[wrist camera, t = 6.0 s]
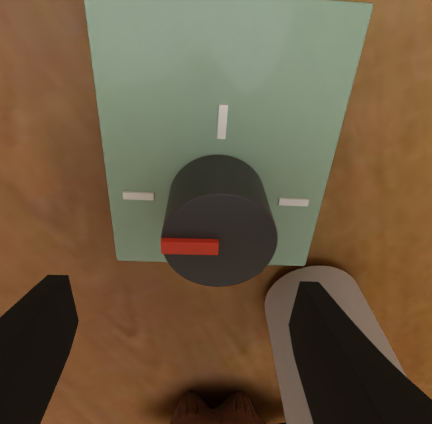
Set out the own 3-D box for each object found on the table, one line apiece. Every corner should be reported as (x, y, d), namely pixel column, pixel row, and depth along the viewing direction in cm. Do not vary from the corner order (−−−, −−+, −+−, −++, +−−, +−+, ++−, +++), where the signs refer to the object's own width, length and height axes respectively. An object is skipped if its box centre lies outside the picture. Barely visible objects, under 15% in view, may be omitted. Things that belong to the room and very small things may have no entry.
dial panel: (291, 237, 21) (304, 272, 18) (128, 232, 20) (116, 267, 17) (344, 3, 14) (377, 3, 11) (104, -14, 14) (79, -19, 11)
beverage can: (374, 283, 23) (510, 508, 13) (310, 334, 25) (379, 554, 15) (305, 242, 21) (401, 471, 11) (243, 303, 23) (272, 531, 13)
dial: (270, 155, 14) (288, 199, 11) (258, 237, 17) (271, 293, 13) (168, 151, 14) (156, 195, 11) (170, 235, 16) (161, 291, 13)
